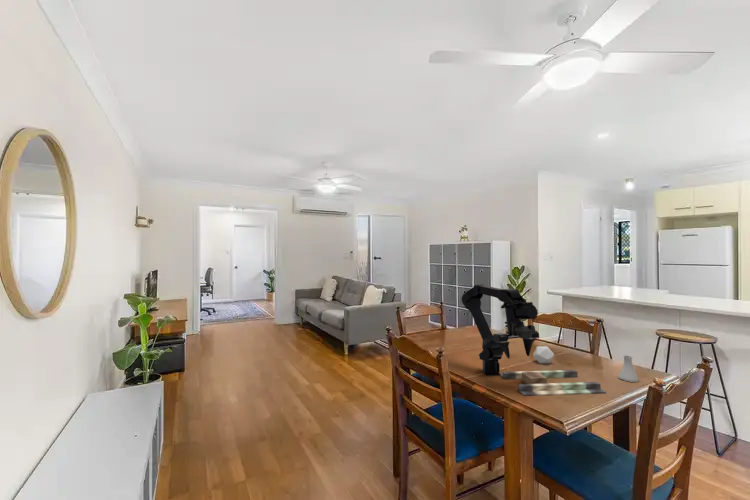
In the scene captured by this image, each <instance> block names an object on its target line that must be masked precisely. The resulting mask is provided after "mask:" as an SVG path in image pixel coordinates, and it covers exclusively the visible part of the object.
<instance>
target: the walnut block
mask: <svg viewBox="0 0 750 500" xmlns="http://www.w3.org/2000/svg"><path fill="white" fill-rule="evenodd" d="M521 382H522V383H523V384H546V383H548V378H546V377H545V376H543V375H542V374H540V373H538V372H522V379H521Z"/></svg>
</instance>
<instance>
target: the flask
mask: <svg viewBox="0 0 750 500" xmlns="http://www.w3.org/2000/svg"><path fill="white" fill-rule="evenodd" d="M622 357H623V364H622V367H621V369H620V371H619V373H618V376H617V379H620V380H622V381H625V382H630V383H634V382H635V383H638V382H639V378H638V375H637V373H636V370H635V368H634V365H633V361H632V360H633V358H634V357H633V356H632V355H627V354H626V355H623V356H622Z"/></svg>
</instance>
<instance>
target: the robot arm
mask: <svg viewBox="0 0 750 500" xmlns="http://www.w3.org/2000/svg"><path fill="white" fill-rule="evenodd" d="M484 296H489V297H493V298H497V299H498V301H500V302H502V303H503V304H502V305H501V306H500V309H504V312H505V319H506V320H505V321H504V324H505V325H506V327H507V331H505V332H506V333H503V332H499V333H492V331H491V329H490V326H489V324H488V322H487V319H486V318H485V315H484V313H483V311H482V309H481V306H482V298H483V297H484ZM461 302H462V304H463V306H464V307H465V309H466V310H468V311H469V312H470V313H471V316H472V318H473V321H474V323H475V325H476V328H477V331H478V332H479V334H480V336H481V339H482V344H481V345H482V346H481V347H482V351H481V352H480V353H478V357H479V360H481V361H482V369H481V372H482V373H483V374H484V375H485V376H500V374H501V373H500V372H501V371H500V366H501V364H500V363H499V360H501V359H502V358H503V355H504V354H505V356H506V358H507V359H510V357H511V355H510V349H509V346H510V345H509V344H510V341H509V340H511V339H512V340H513V339H521V340H522V342H523V346H524V351H525V354H526V356H527V357H530V354H531V350H532V346H533V344H534V342H535V341H537V340H538V339H539V338H540V333H539V332H538V330H536V327H535V325H533V324H529V325H525V323H524V321H523V320H535V319H536V318H537V317H538V314H539V313H538V309H537V308H536V306H535V305H534V303H533V301H528V302H527V301H526V300H525V299H524V297H523V296H522V294H521V292H519V290H518V289H517V288H497V287H493V286H489V285H484V284H475V285H473V286H472V288H470V289H468V290H467V291H465V292H464V293H463V294H462V296H461Z"/></svg>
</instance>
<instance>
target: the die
mask: <svg viewBox="0 0 750 500" xmlns="http://www.w3.org/2000/svg"><path fill="white" fill-rule="evenodd" d="M532 356H533V358H535V360H536V361H537V362H538V363H539V365H540V364H545V365H546V364H549V365H551V362H552V360H553V358H554V356H555V353H554V352H553V351H552V350H551V349H550V348H549V347H548V346H547V345H546V346H545V345H542V346H537V345H536V348H535V349H534V352H533V353H532Z"/></svg>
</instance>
